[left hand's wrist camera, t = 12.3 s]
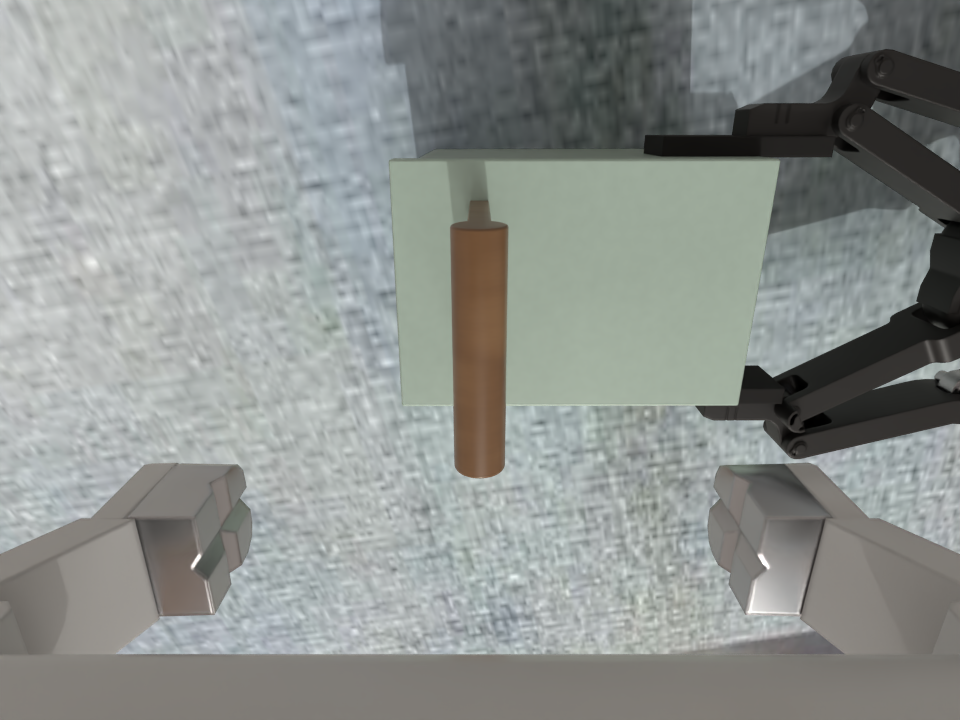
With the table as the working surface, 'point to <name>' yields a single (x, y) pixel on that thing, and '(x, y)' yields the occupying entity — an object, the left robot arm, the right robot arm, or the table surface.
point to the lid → (573, 284)
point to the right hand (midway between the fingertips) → (640, 274)
